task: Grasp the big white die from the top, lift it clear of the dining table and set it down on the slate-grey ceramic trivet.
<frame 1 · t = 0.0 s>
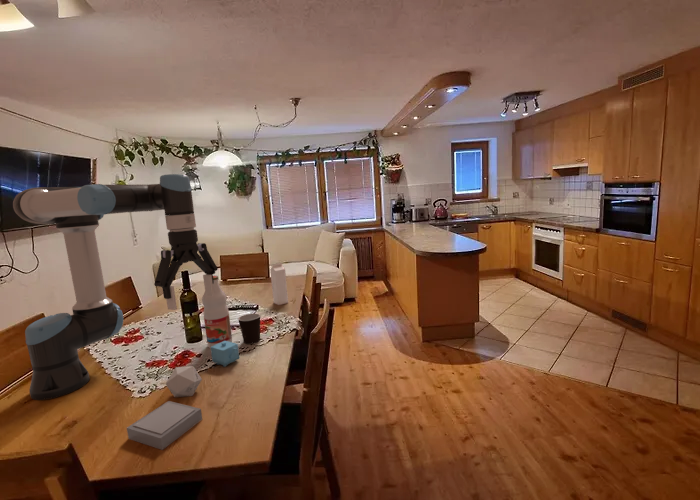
hand: (192, 302, 104), 28 cm above the table, tool pointing down, fingers open, 13 cm apart
fruit juice: (220, 344, 142), on the table
blue spouted cube: (228, 363, 126), on the table
milk: (281, 303, 194), on the table
black cup: (253, 339, 146), on the table
die: (186, 394, 107), on the table
trivet: (166, 428, 90), on the table
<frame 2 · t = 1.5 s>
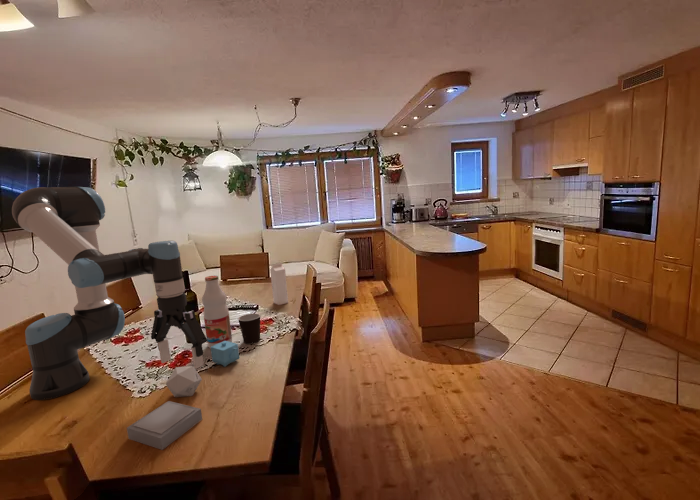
hand: (182, 363, 105), 10 cm above the table, tool pointing down, fingers open, 13 cm apart
nothing on the table moved.
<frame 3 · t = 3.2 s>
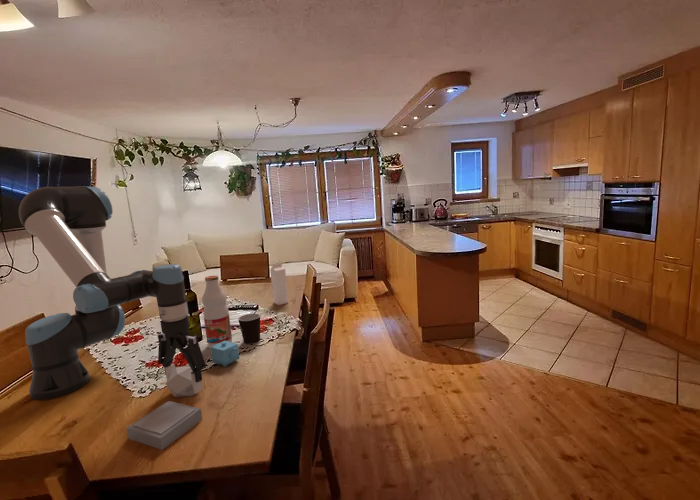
hand: (185, 388, 106), 2 cm above the table, tool pointing down, fingers closed on die, 10 cm apart
die: (186, 394, 107), on the table, touching gripper
everything else where it was.
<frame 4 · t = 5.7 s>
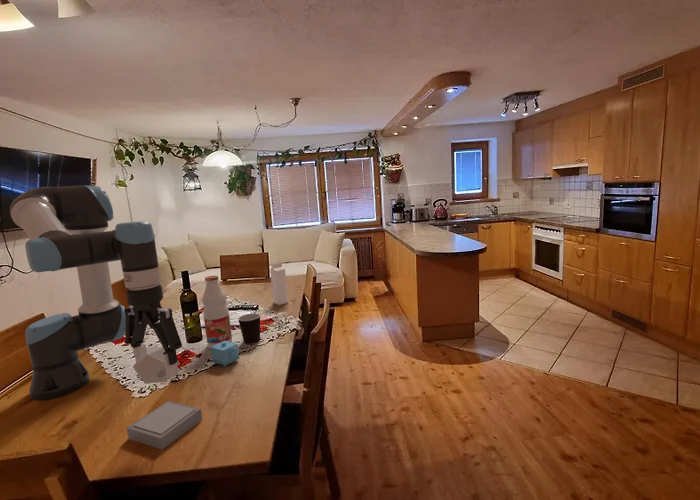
hand: (157, 373, 88), 15 cm above the table, tool pointing down, fingers closed on die, 10 cm apart
die: (158, 380, 88), point 13 cm above the table, touching gripper
everything else where it was.
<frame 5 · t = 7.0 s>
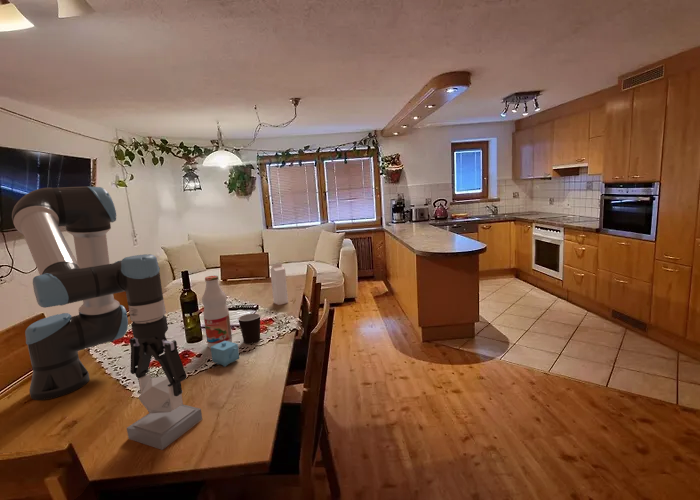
hand: (162, 403, 89), 7 cm above the table, tool pointing down, fingers closed on die, 10 cm apart
die: (163, 409, 90), point 5 cm above the table, touching gripper
everything else where it was.
when the fingers open (6 cm above the table, at t = 8.2 s): die drops 1 cm, resting on trivet.
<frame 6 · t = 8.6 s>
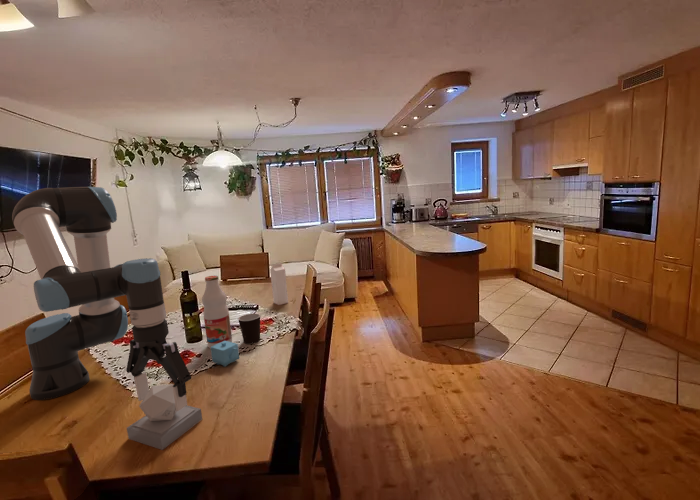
hand: (162, 402, 89), 7 cm above the table, tool pointing down, fingers open, 13 cm apart
die: (164, 417, 90), point 3 cm above the table, touching trivet
everything else where it was.
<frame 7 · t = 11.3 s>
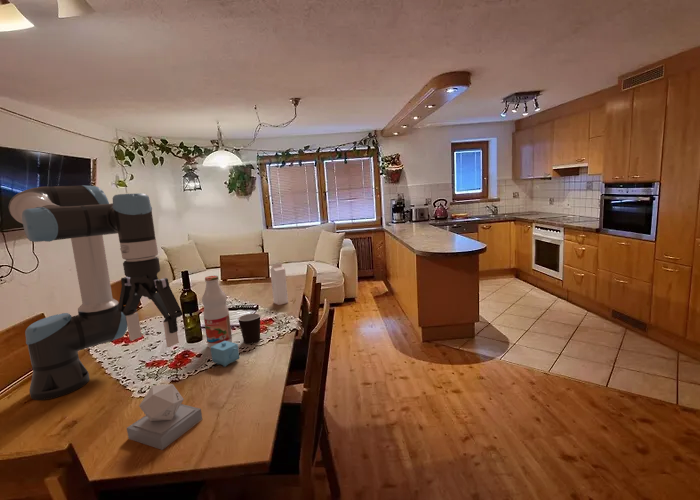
hand: (153, 341, 89), 23 cm above the table, tool pointing down, fingers open, 13 cm apart
nothing on the table moved.
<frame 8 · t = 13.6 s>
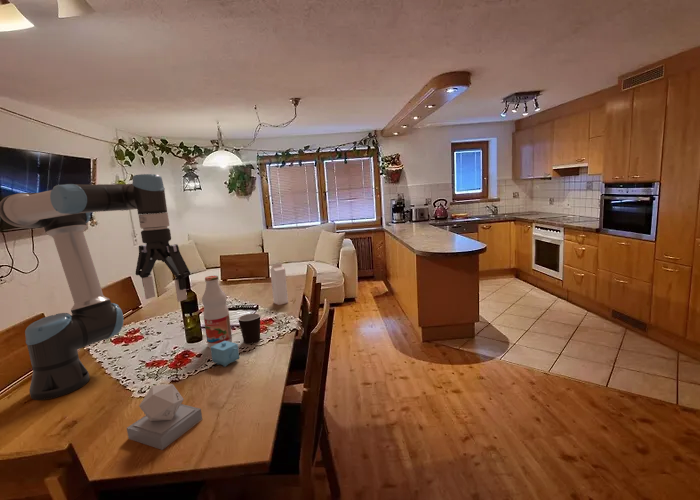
hand: (166, 299, 106), 29 cm above the table, tool pointing down, fingers open, 13 cm apart
nothing on the table moved.
at the end: die inside the target area on the trivet (0.2 cm from its centre), point 3.1 cm above the trivet's base; die tilted 0°; the gripper is holding nothing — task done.
